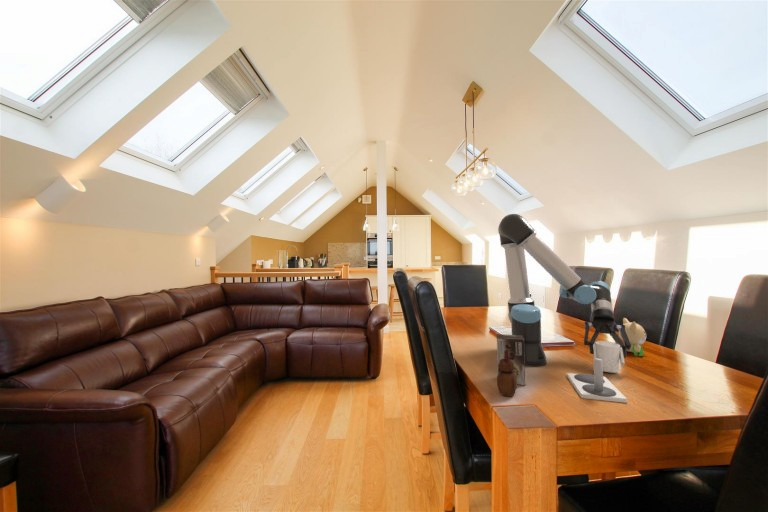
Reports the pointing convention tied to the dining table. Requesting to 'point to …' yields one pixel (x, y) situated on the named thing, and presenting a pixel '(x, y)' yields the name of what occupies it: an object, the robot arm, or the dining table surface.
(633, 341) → the kitten
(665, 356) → the dining table surface
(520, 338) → the coffee box
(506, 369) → the wooden figurine
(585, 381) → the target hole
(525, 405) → the dining table surface
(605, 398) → the board
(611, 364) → the white cup
